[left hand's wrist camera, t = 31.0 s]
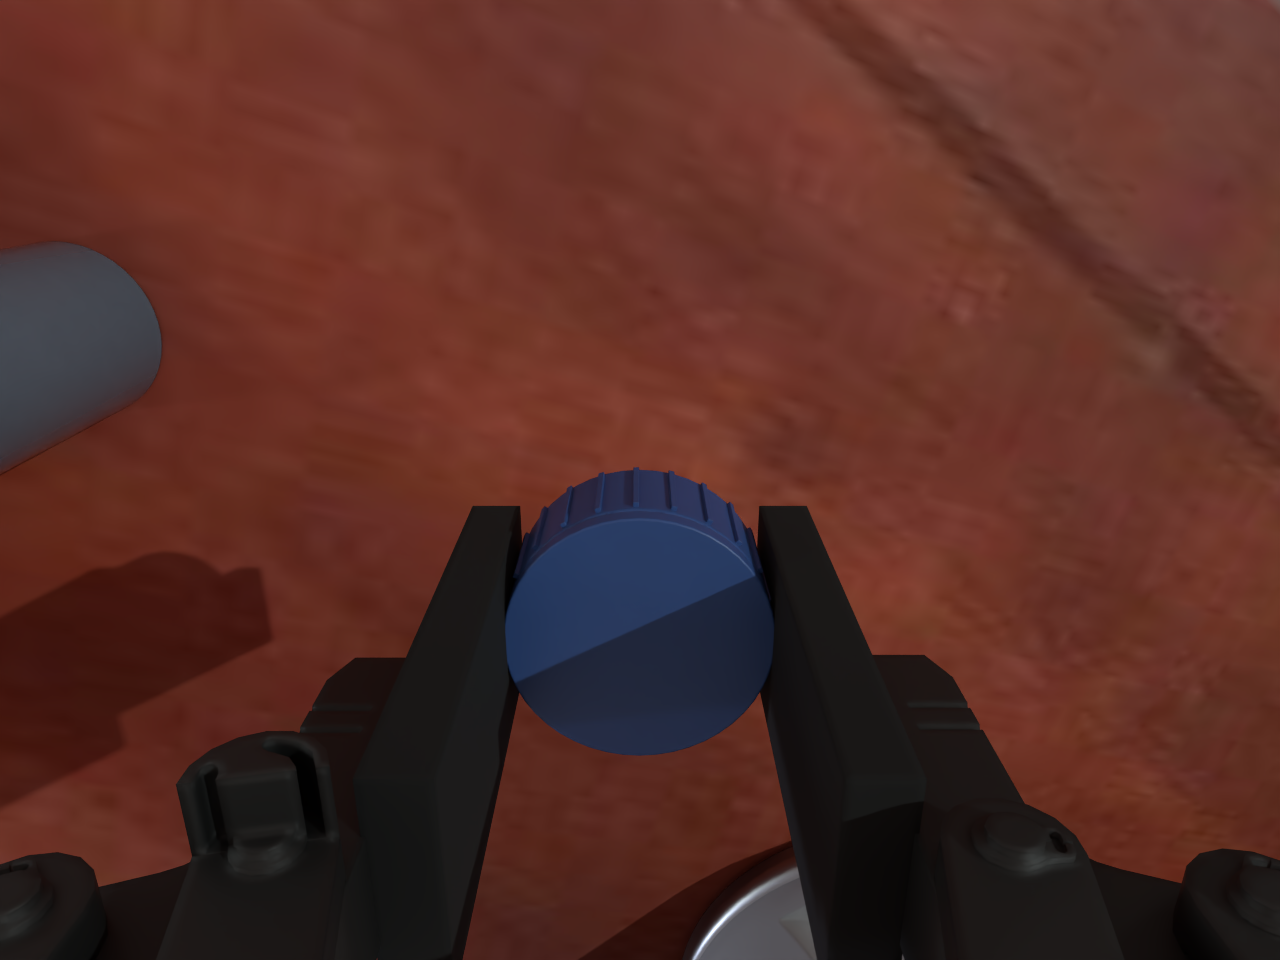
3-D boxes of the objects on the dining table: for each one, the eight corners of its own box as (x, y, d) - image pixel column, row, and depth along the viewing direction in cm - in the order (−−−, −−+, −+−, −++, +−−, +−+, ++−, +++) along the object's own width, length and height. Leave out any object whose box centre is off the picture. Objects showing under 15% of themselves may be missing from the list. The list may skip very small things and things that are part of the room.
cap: (591, 419, 14) (582, 463, 12) (810, 539, 14) (835, 597, 13) (474, 620, 15) (451, 687, 13) (682, 720, 16) (688, 798, 14)
